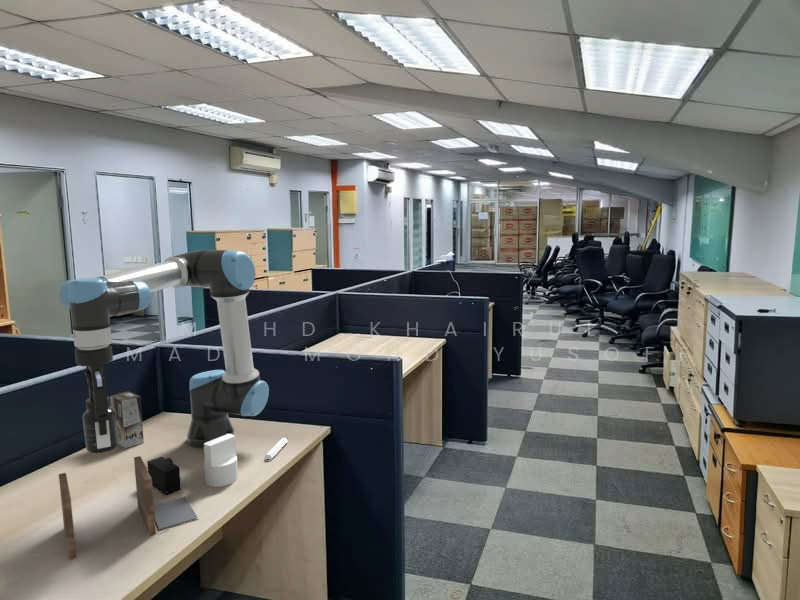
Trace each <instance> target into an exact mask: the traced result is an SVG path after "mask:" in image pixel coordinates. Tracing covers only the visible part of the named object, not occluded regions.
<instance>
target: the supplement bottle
mask: <svg viewBox="0 0 800 600" xmlns="http://www.w3.org/2000/svg"><path fill="white" fill-rule="evenodd" d="M107 402H108V412H109V416H110V418H109V431H110V442H111V446H109V447H105V448H100V449H97V440H96V429H95V422H94V423H92V420H95V410H94V402H93V397H92V398H90V397H89V398H87V399H86V400H85V408H86V410H85V412H83V415H82V422H83V425H82V426H83V433H84V434H83V435H84V442H85V448H86V451H87V452H88V453H91V454H92V453H93V454H101V453H106V452H108V451H112V450H114V449H115V448H117V446H118V445H119V444H118V443H119V441H118V431H117V421H116V412H115V410H114V409H113V408H112V407H111V400H110V396H107Z"/></svg>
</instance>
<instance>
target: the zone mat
mask: <svg viewBox="0 0 800 600" xmlns="http://www.w3.org/2000/svg"><path fill="white" fill-rule="evenodd" d="M154 515H155V525H156V526H157V528H158V530H159V531H163V530H166V529H169V528H172V527H176V526H179V524H180V525H182V523H183V524H185V523H184V522H186V523H189V522H188V521H190V522H192V521H191V520H193V521H195V520H194V519H196V518H198V519H199V517H198V515H197V514H196V512H195V511H194V509H193V507H192V505H191V504H190V502H189V500H188V499H187V497H186V496H185V495H184V496H180V497H176V498H173V499H170V500H166V501H161V502H158V503H155V504H154ZM196 520H197V519H196Z"/></svg>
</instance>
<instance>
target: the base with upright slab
mask: <svg viewBox="0 0 800 600" xmlns="http://www.w3.org/2000/svg"><path fill="white" fill-rule="evenodd" d="M236 445H237V444H236V435H235V434H234V435H233V434H226V435H224V436H221V437H219V438H216V439H214V440H211V441H208V442H206V443H204V448H203V453H204V465H203V466H204V477H205V478H204V480H205V484H206V485H208V487H209V486H211V487H217V488H219V487H225V486H226V487H227V486H228V485H232V484H233V483H236V482H237V481H238V479H239V470H238V469H239V467H238V466H239V465H238V456H237V447H236Z"/></svg>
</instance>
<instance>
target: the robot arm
mask: <svg viewBox="0 0 800 600" xmlns="http://www.w3.org/2000/svg"><path fill="white" fill-rule="evenodd" d="M256 275H257V274H256V267H255V264H254V262H253V260H252V258H251V257H250V256H249V255H248V254H247V253H245V252H244V251H241V250H233V249H198V250H197V249H196V250H193V251H188V252H185V253H181V254H177V255H173V256H169V257H166V259H164V261H163V262H157V263H154V264H148V265H144V266H141V267H136V268H131V269H127V270H121V271H118V272H114V273H110V274H105V275H100V276H98V277H97V276H96V277H86V278H85V277H84V278H82V277H81V278H76V279H68V280H66V281H65V282H63V283H62V284H61V286H60V287H59V289H58V299H59V302H60V303H61V305H62V306H63V307H65V308H67V309H70V316H71V327H72V332H73V333H71V334H69V337H70V338H71V339H73V344H74V347H75V349H74V357H75V358H74V359H75V360H74V361H75V364H76V365H77V366H79V367H85V369H86V370H85V371H84V372H85V373H84V374H85V379H86V385H87V387H88V396H89V398H92V397H93V402H94V410H95V420H92V423H94V422H95V429H96V440H97V449H100V448H105V447H109V446H111V442H110V431H109V418H110V416H109V412H108V402H107V395H108V393H107V388H108V386H107V370H105V368H104V367H103V365H106V364H109V363H111V362H112V361H113V359H114V356H113V355H114V354H113V346H112V345H111V343H112V342H113V340H112V330H111V329H112V327H111V322H110V321H111V320H110V319H111V317H114V316H120V315H124V314H129V313H137V312H138V311H139V312H140V311H142V310H145V309H147V308H148V307H149V306H150V304H151V301H152V293H154V292H156V291H160V290H164V289H168V288H174V289H178V288H179V289H180V288H184V287H200V288H209V291H210V292H209V293H210V294H209V295H210V297H211V298H212V299H214V300H215V301H216V305H217V312H218V321H219V328H220V337H221V341H222V342H221V343H222V352H223V359H224V365H225V370H223V369H213V370H207V371H203V372H199V373H196V374H194V375H193V376H191V377H190V379H189V389H188V390H189V401H190V411H191V414H190V415H191V420H190V424H189V427H188V431H187V435H186V438H187V444H188V445H189V446H191V447H194V448H198V449H199V448H203V449H204V443H206V442H208V441H211V440H214V439H216V438H219V437H221V436H224V435H226V434H233V435H235V429H234V426H233V423H232V421H231V419H230V417H229V414H231V415H238V416H242V417H256V416H257V415H259V414H260V413H261V412H262V411H263V410H264V408H265V407H266V405H267V403H268V398H269V393H270V392H269V391H270V389H269V385H268V383H267V382H266V381H264V380H262V379H261V377H260V371H259V370H258V369H256V368H255V367H254V361H253V358H254V357H253V352H252V343H251V335H250V326H249V319H248V318H249V317H248V310H247V309H248V308H247V301H246V298H247V296H248V295H249V293H250V288H252V287H253V285H254V283H255V279H256Z"/></svg>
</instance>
